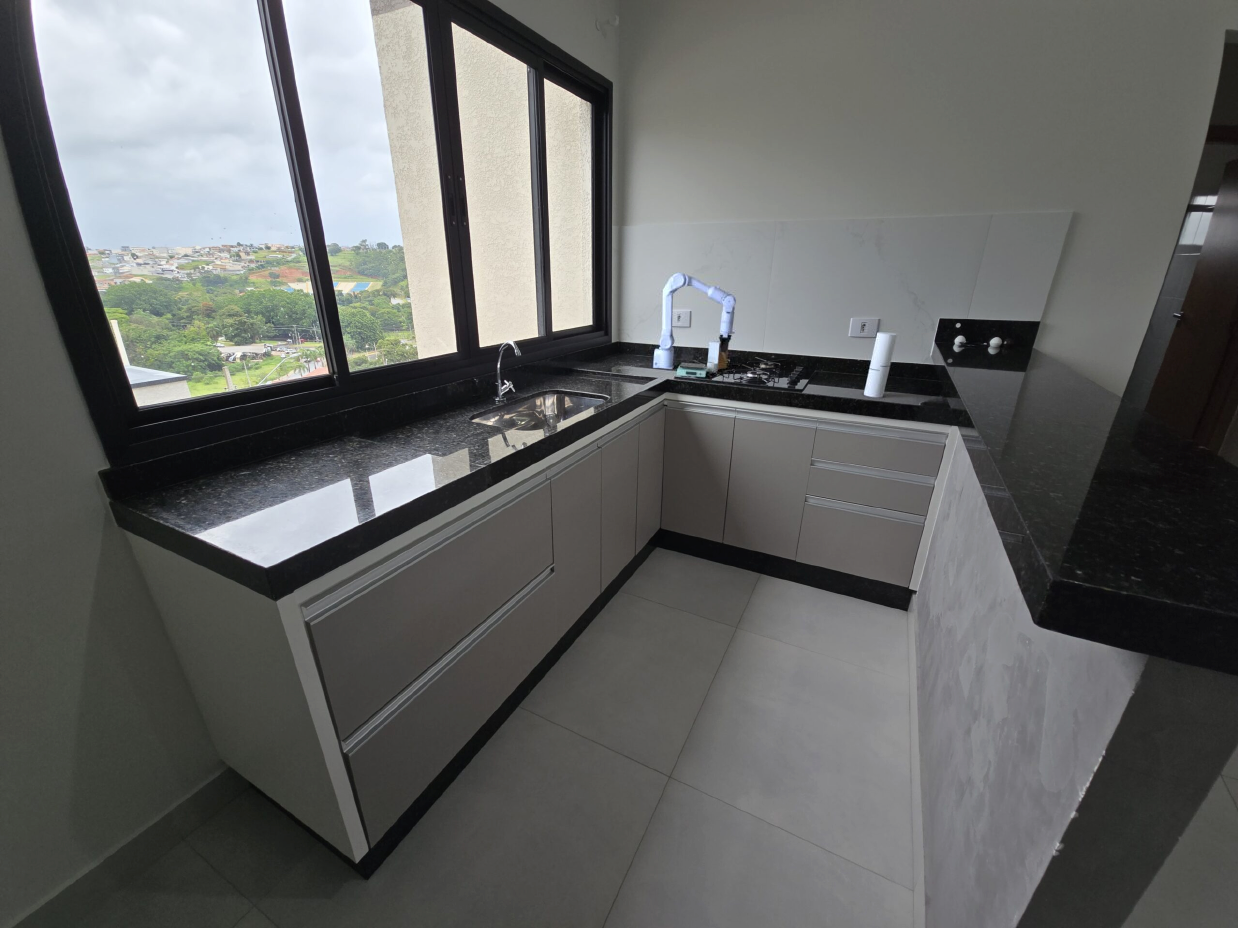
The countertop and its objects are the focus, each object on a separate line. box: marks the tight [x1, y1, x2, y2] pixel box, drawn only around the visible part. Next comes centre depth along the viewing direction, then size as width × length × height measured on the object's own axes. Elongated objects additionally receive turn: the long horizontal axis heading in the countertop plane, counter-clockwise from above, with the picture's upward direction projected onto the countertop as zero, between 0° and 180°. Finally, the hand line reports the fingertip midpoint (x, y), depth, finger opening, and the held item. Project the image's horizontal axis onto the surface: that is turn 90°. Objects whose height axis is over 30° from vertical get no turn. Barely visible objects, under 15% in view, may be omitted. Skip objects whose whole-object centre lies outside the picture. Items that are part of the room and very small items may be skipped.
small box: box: [707, 340, 730, 370], centre depth 251 cm, size 8×6×13 cm
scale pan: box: [679, 362, 706, 369], centre depth 236 cm, size 11×9×1 cm
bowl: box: [706, 361, 719, 374], centre depth 243 cm, size 5×5×4 cm
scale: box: [676, 365, 708, 378], centre depth 237 cm, size 13×11×2 cm
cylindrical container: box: [863, 331, 898, 398], centre depth 204 cm, size 7×7×25 cm
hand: (723, 351), depth 241 cm, fingers open, 7 cm apart
